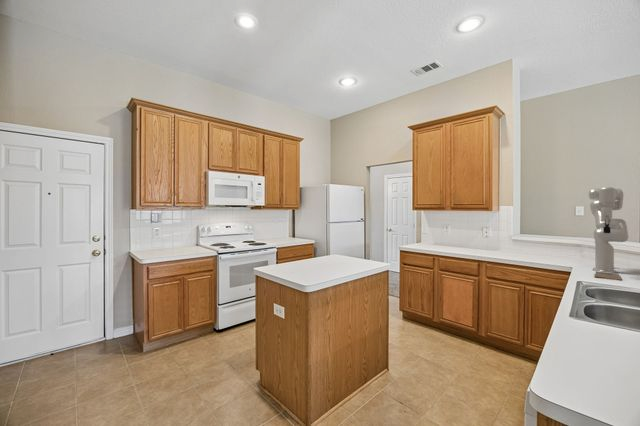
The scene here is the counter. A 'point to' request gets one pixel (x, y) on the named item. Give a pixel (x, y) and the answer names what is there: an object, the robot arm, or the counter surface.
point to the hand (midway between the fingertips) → (607, 233)
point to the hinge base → (608, 277)
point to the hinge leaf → (607, 273)
